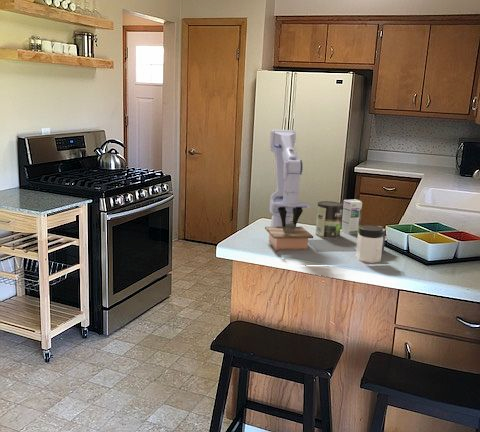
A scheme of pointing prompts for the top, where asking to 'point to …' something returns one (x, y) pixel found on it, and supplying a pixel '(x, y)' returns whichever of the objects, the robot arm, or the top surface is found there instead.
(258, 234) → the top surface
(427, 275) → the top surface
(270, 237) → the dish
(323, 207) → the coffee can
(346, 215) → the syrup box
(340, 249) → the mat
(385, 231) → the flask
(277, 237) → the lid
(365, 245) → the jar
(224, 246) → the top surface
